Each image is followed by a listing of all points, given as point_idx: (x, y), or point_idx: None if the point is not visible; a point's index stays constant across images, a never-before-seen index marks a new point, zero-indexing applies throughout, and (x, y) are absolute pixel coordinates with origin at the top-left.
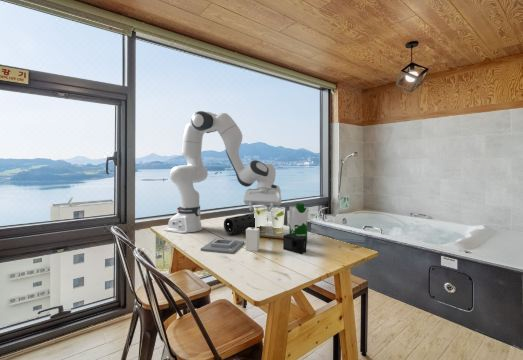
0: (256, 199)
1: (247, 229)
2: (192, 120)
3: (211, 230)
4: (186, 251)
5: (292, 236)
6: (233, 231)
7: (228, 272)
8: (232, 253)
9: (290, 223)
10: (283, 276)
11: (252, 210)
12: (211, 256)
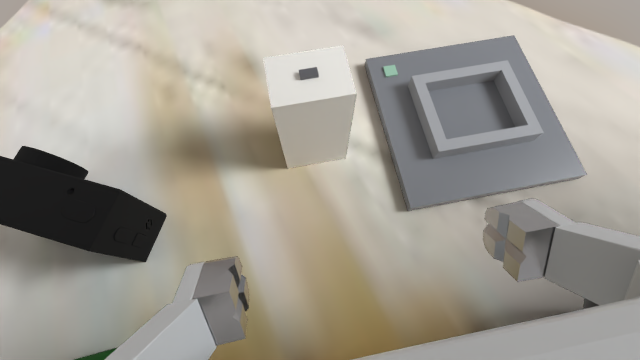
0: (627, 345)
1: (334, 50)
2: None
3: None
4: (547, 16)
5: (52, 190)
6: (584, 301)
7: None
8: (365, 64)
9: None
10: None
11: (485, 239)
12: (420, 15)
